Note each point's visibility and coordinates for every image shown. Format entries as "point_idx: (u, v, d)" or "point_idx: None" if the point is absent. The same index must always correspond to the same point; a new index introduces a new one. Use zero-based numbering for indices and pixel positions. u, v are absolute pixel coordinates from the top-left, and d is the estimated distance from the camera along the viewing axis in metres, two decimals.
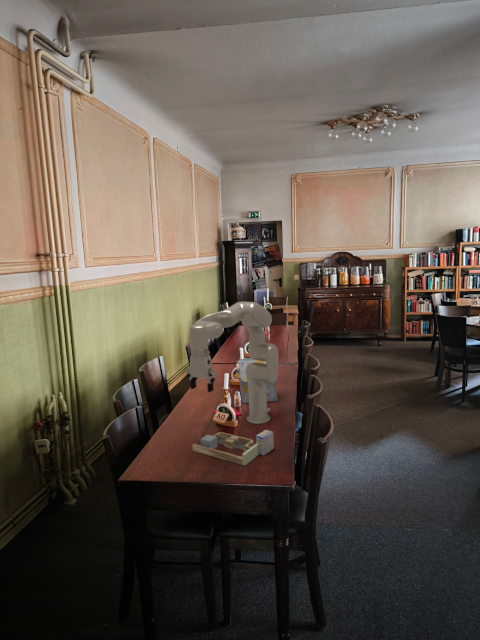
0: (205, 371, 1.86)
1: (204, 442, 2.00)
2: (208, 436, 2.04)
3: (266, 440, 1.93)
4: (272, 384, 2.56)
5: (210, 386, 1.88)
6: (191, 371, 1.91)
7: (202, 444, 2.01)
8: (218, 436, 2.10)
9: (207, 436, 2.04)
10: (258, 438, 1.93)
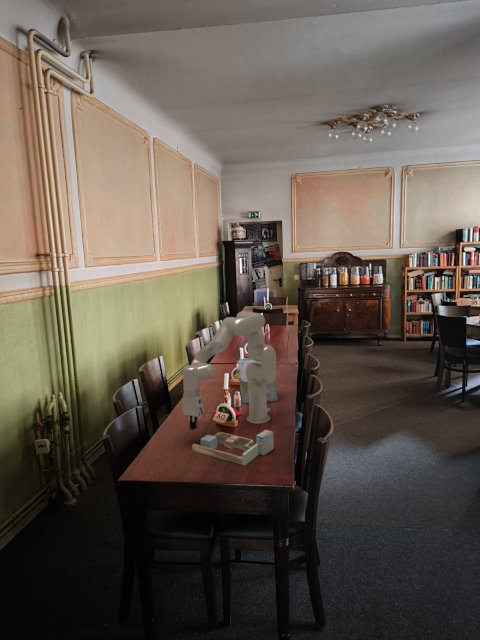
0: (196, 410, 2.00)
1: (204, 442, 2.00)
2: (208, 436, 2.04)
3: (266, 440, 1.93)
4: (272, 384, 2.56)
5: (194, 424, 2.04)
6: (183, 409, 2.05)
7: (202, 444, 2.01)
8: (218, 436, 2.10)
9: (207, 436, 2.04)
10: (258, 438, 1.93)
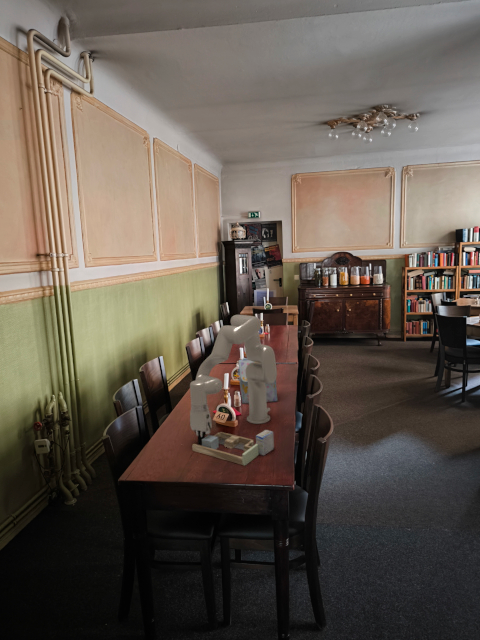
0: (204, 425, 1.99)
1: (206, 442, 1.99)
2: (209, 436, 2.03)
3: (266, 440, 1.93)
4: (272, 384, 2.56)
5: None
6: (191, 424, 2.03)
7: (203, 444, 2.00)
8: (218, 436, 2.10)
9: (208, 436, 2.03)
10: (258, 438, 1.93)
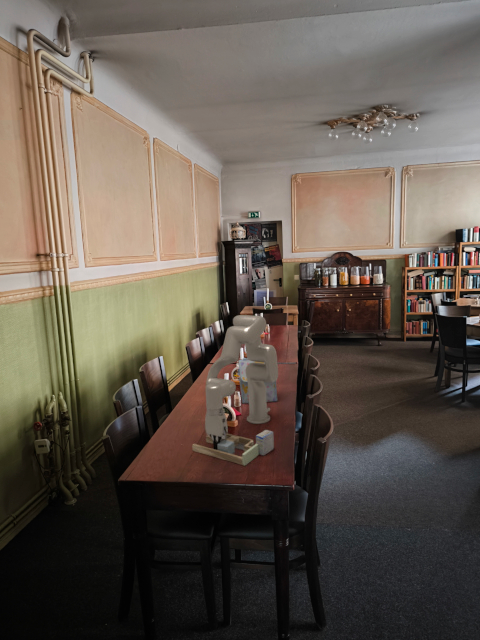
0: (220, 429, 1.93)
1: (222, 448, 1.93)
2: (225, 441, 1.97)
3: (266, 440, 1.93)
4: (272, 384, 2.56)
5: None
6: (206, 428, 1.98)
7: (219, 450, 1.94)
8: None
9: (224, 441, 1.97)
10: (258, 438, 1.93)
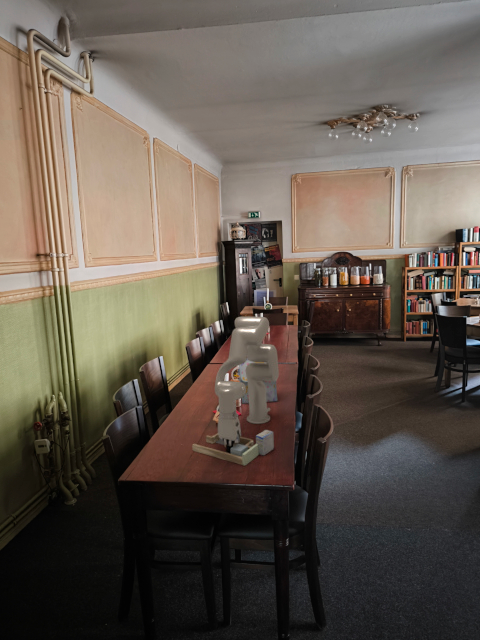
0: (233, 433, 1.89)
1: (235, 452, 1.89)
2: (238, 445, 1.92)
3: (266, 440, 1.93)
4: (272, 384, 2.56)
5: None
6: (219, 432, 1.93)
7: None
8: (218, 436, 2.10)
9: (237, 445, 1.92)
10: (258, 438, 1.93)
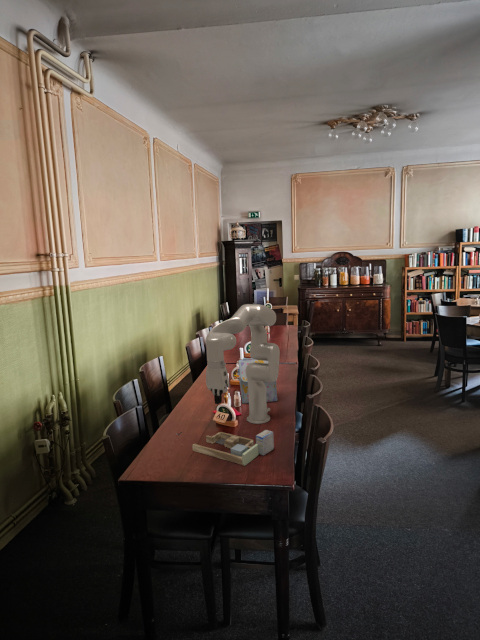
0: (221, 382, 1.89)
1: (235, 452, 1.89)
2: (238, 445, 1.92)
3: (266, 440, 1.93)
4: (272, 384, 2.56)
5: (219, 398, 1.94)
6: (207, 382, 1.94)
7: None
8: (218, 436, 2.10)
9: (237, 445, 1.92)
10: (258, 438, 1.93)
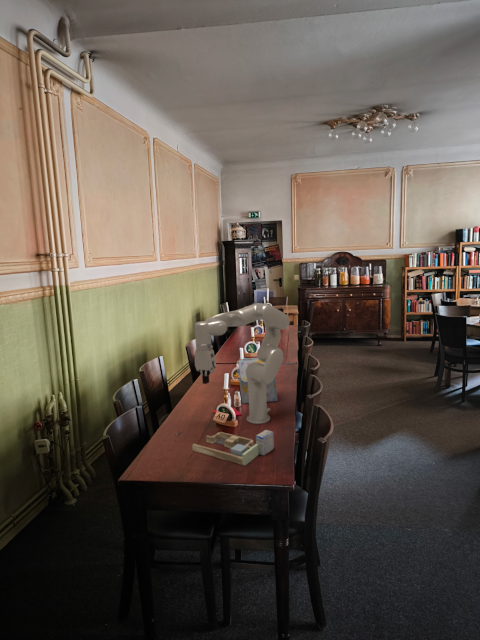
0: (208, 363, 2.07)
1: (235, 452, 1.89)
2: (238, 445, 1.92)
3: (266, 440, 1.93)
4: (272, 384, 2.56)
5: (206, 378, 2.11)
6: (196, 364, 2.11)
7: None
8: (218, 436, 2.10)
9: (237, 445, 1.92)
10: (258, 438, 1.93)
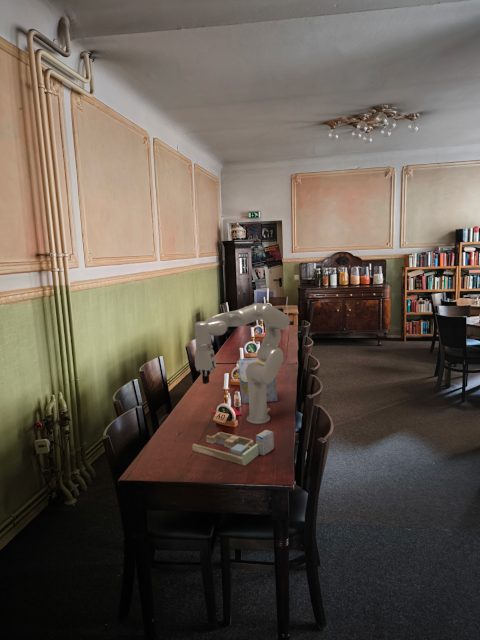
0: (208, 363, 2.07)
1: (235, 452, 1.89)
2: (238, 445, 1.92)
3: (266, 440, 1.93)
4: (272, 384, 2.56)
5: (206, 378, 2.11)
6: (196, 364, 2.11)
7: None
8: (218, 436, 2.10)
9: (237, 445, 1.92)
10: (258, 438, 1.93)
